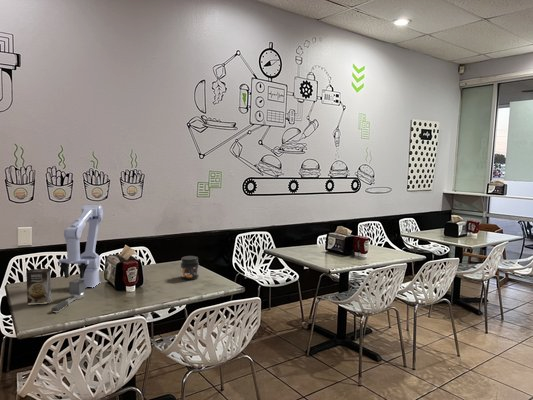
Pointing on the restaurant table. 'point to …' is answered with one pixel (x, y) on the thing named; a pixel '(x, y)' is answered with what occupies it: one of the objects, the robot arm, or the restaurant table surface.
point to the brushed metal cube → (76, 287)
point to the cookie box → (38, 286)
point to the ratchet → (66, 302)
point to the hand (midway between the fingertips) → (74, 277)
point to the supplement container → (189, 268)
